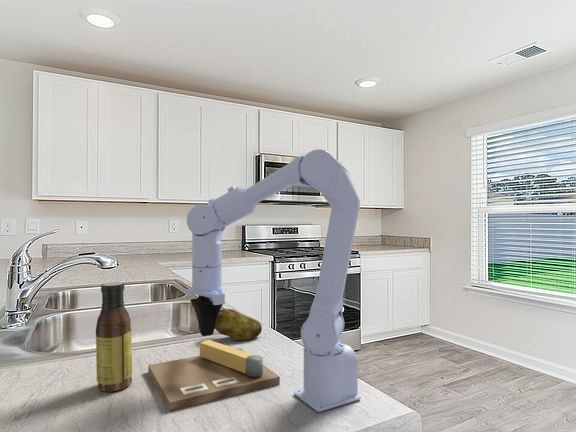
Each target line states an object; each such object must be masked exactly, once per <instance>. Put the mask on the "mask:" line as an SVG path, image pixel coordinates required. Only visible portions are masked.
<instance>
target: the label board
mask: <svg viewBox="0 0 576 432" xmlns="http://www.w3.org/2000/svg"><path fill="white" fill-rule="evenodd" d="M237 349H238V350H241V351H244V352H246V351H245V350H244V349H243V348H237ZM147 367H148V374H149V376H150V378H151V379H152V381H153V383H154V385H155V387H156V390H158V393H159V394H160V396H161V398H162V400H163V402H164V403H165V406H166V407H167V409H168V410H169V412H173V411H177V410H181V409H185V408H189V407H194V406H197V405H202V404H205V403H209V402H210V403H211V402H214V401H218V400H221V399H227V398H229V397H230V398H231V397H233V396H238V395H243V394H246V393H251V392H255V391H258V390H264V389H266V388H272V387H275V386H279V385H280V382H281V381H280V380H281V378H280V376H279V375H278V374H277V373H275V372H274V371H273V370H271V369H270V368H268V367H267V366H266V365H264V364H263V374H262V375H260V376H257V377H251V376H248V375H247V374H245V373H243V372H240V371H237V370H235V369H232V368H229V367H227V366H224V365H222V364H219V363H216V362H214V361H211V360H209V359H206V358H203V357H201V356H200V355H196V356H190V357H186V358H179V359H174V360H169V361H164V362H157V363H153V364H148V366H147Z"/></svg>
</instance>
